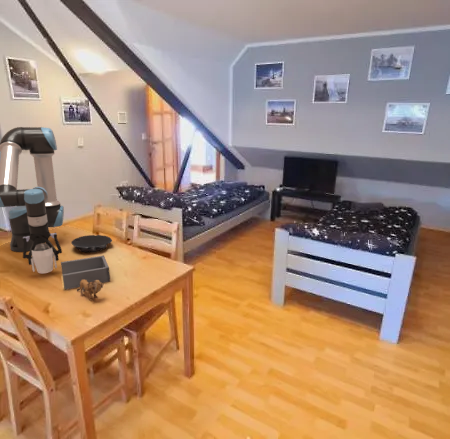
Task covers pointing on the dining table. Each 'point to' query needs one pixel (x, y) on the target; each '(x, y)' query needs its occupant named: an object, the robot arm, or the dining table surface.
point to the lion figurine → (90, 287)
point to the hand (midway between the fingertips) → (45, 268)
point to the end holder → (84, 271)
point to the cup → (43, 258)
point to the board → (91, 243)
